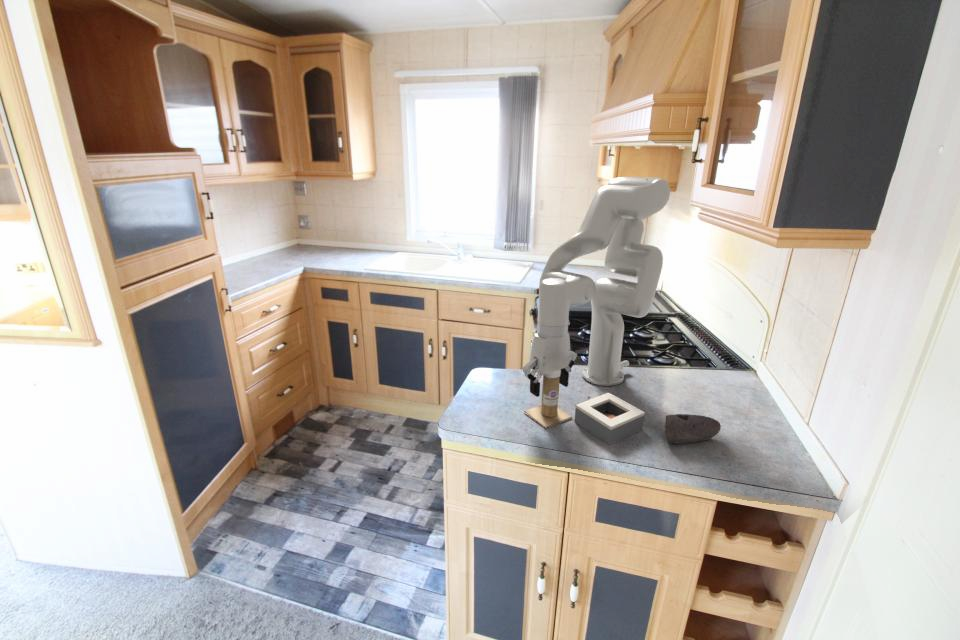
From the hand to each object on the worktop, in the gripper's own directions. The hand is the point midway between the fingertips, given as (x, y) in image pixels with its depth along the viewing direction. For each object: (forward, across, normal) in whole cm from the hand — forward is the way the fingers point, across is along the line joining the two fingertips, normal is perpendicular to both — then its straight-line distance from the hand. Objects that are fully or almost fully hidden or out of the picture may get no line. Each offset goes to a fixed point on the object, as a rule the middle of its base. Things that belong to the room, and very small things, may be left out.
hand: (549, 389), depth 120 cm
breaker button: (+7, -10, +12) cm, 17 cm away
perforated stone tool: (+8, -22, +27) cm, 36 cm away
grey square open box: (+8, -10, +12) cm, 17 cm away
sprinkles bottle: (+7, 0, 0) cm, 8 cm away
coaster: (+8, 0, 0) cm, 8 cm away
